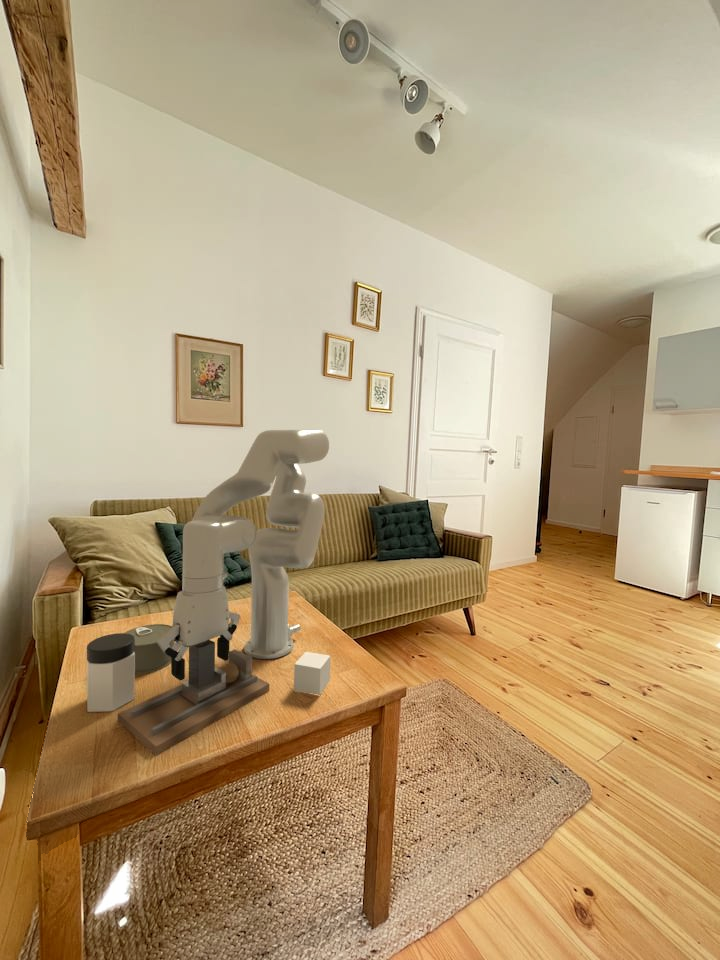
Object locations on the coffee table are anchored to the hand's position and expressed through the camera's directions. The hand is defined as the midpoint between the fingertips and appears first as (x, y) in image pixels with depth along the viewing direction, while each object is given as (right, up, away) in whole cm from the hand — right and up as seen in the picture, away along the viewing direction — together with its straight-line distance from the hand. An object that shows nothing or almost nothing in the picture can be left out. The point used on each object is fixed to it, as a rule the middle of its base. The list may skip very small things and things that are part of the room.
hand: (201, 667), depth 78 cm
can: (-20, -7, +16) cm, 26 cm away
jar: (-18, -7, +1) cm, 20 cm away
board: (0, -7, 0) cm, 7 cm away
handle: (0, -5, +1) cm, 6 cm away
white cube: (+21, -8, +8) cm, 24 cm away
